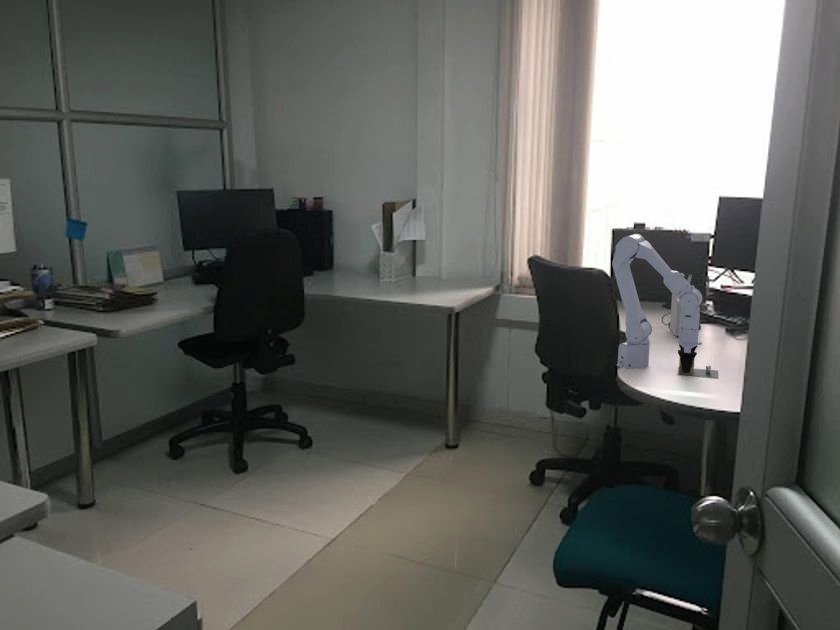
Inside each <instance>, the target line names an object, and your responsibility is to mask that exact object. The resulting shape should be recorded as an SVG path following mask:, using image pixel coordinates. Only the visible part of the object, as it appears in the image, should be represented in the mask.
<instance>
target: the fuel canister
mask: <svg viewBox="0 0 840 630" xmlns="http://www.w3.org/2000/svg"><path fill="white" fill-rule="evenodd" d="M692 276H693V274H692V273H690V274H689V273H688V277H687V279H686V280H687V281H688V283H689V284H690V285H691V280H692V278H693V277H692ZM690 285H689V286H690ZM679 300H680V299H678V298H677V297H676V296H675V295H674V294H673V293H672V292H671V304H670V305H671V306H670V307H671V308H670V322H669V323H670V324H669V330H670V331H671V332H672V334H673V335H674V337H676V336H678V337H677V338H679V329H680V314H681V306H680V304H679Z"/></svg>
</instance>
